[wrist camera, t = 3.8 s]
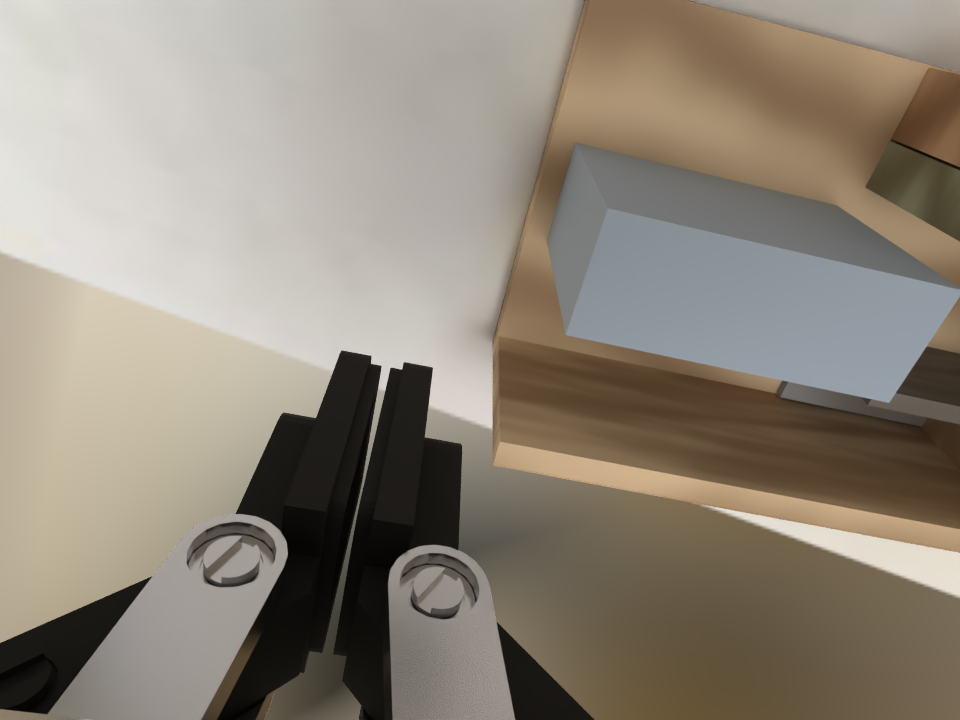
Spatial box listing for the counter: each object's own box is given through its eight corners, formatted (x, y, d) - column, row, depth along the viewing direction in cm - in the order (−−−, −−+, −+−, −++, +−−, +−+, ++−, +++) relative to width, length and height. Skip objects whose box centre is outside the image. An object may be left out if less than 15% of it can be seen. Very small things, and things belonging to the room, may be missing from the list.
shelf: (591, -25, 26) (641, -24, 17) (1124, 118, 28) (1403, 181, 20) (492, 341, 34) (492, 465, 26) (908, 427, 37) (1035, 566, 28)
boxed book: (575, 142, 28) (607, 208, 20) (836, 205, 29) (963, 290, 21) (546, 241, 30) (565, 334, 22) (789, 295, 31) (889, 402, 23)
